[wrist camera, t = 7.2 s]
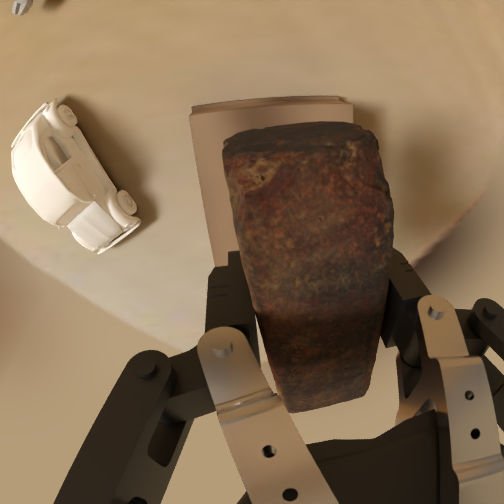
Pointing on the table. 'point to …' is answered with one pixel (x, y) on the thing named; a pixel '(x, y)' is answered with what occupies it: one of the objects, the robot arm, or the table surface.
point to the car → (69, 180)
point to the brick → (313, 253)
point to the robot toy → (21, 6)
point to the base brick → (237, 120)
